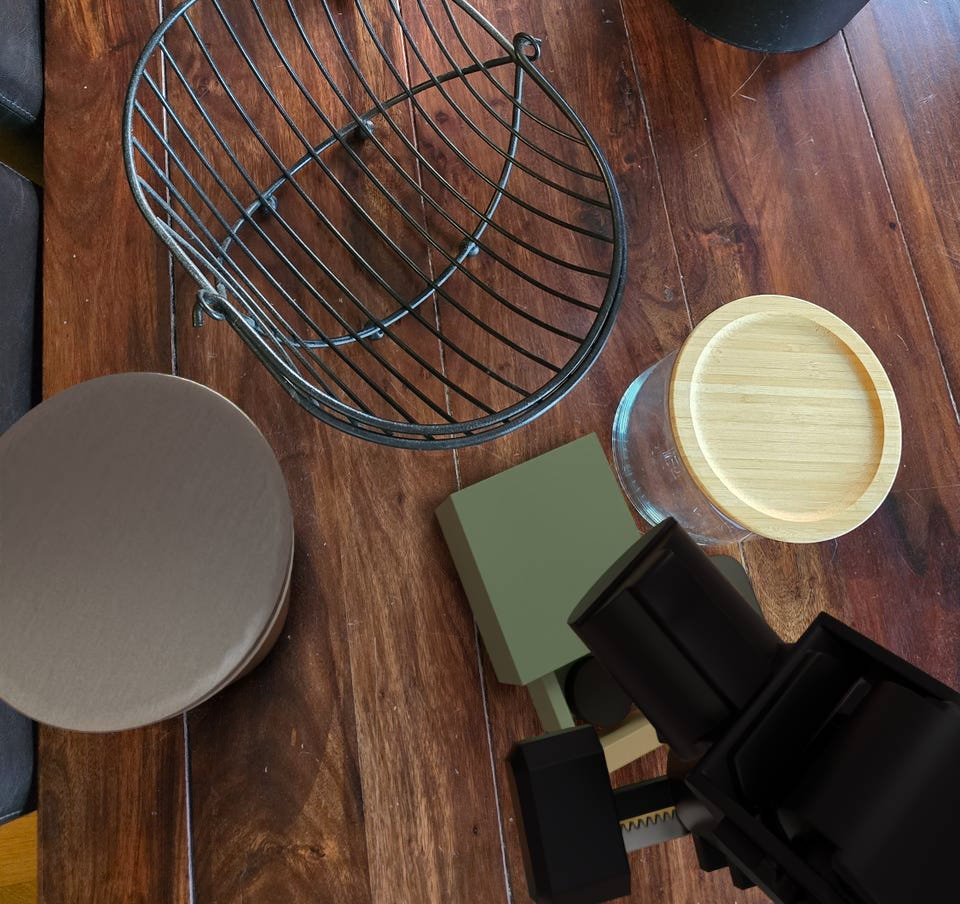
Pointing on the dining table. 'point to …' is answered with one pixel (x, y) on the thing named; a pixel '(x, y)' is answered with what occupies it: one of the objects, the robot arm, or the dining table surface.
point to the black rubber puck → (595, 694)
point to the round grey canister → (137, 552)
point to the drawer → (617, 740)
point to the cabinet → (536, 553)
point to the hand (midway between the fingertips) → (668, 758)
